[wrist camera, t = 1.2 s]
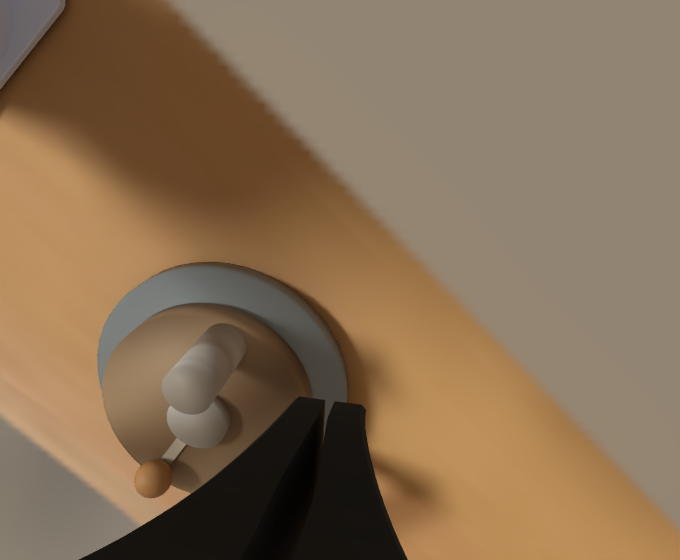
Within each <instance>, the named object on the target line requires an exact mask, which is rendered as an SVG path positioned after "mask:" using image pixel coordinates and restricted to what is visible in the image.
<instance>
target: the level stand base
mask: <svg viewBox="0 0 680 560" xmlns="http://www.w3.org/2000/svg"><path fill="white" fill-rule="evenodd" d="M187 303H212V304H219V305H223V306H228V307H231V308H234V309H237V310H240V311H243V312H245V313H247V314H249V315H251V316H253V317H255V318H257V319H258V320H260V321H262V322H263V323H265V324H266V325H268V326H269V327H270V328H272V329H273V330H274V331H275V332H277V333H278V334H279V335H280V336H281V337H282V338H283V339H284V340H285V341H286V342H287V343H288V344H289V345H290V347H291V348H292V349H293V351H294V352H295V353H296V354H297V356H298V358H299V359H300V361H301V363H302V364H303V366H304V368H305V371H306V373H307V375H308V378H309V381H310V385H311V388H312V395H313V398H315V399H322V400H325V416H324V435H325V429H326V423H327V418H328V415H329V413H330V410H331V408H332V406H333V404H334V401H337V402H344V403H347V402H348V378H347V371H346V367H345V363H344V359H343V356H342V353H341V351H340V348H339V346H338V343H337V341H336V340H335V338H334V336H333V334H332V332H331V331H330V329H329V327H328V326H327V325H326V323H325V322H324V321H323V319H322V318H321V317H320V315H319V314H318V313H317V312H316V311H315V310H314V309H313V308H312V307H311V306H310V305H309V304H308V303H307V302H306V301H305V300H304V299H303V298H302V297H300V296H299V295H298V294H297V293H296V292H294V291H293V290H291V289H290V288H288V287H287V286H285V285H284V284H282V283H281V282H279V281H277V280H275V279H273V278H271V277H269V276H267V275H265V274H263V273H260V272H258V271H255V270H252V269H249V268H246V267H242V266H237V265H233V264H228V263H217V262H198V263H190V264H184V265H179V266H176V267H173V268H170V269H167V270H164V271H162V272H160V273H158V274H156V275H154V276H152V277H150V278H149V279H147V280H146V281H144V282H143V283H141V284H140V285H139V286H137V287H136V288H134V289H133V290H132V291H130V292H129V293H128V294H127V295H126V296H125V297H124V298H123V299H122V300H121V301H120V302H119V303H118V304H117V305H116V306H115V308H114V309H113V311H112V312H111V314H110V315H109V317H108V319H107V321H106V323H105V325H104V327H103V330H102V334H101V337H100V340H99V347H98V355H97V358H98V374H99V380H100V385H101V388H102V383H103V376H104V371H105V368H106V364H107V362H108V360H109V358H110V356H111V354H112V352H113V351H114V349H115V348H116V347H117V345H118V344H119V343H120V342H121V341H122V340H123V339H124V338H125V337H126V336H127V335H128V334H129V333H131V332H132V331H133V330H134V329H136V328H137V327H138V326H139V325H140V324H142V323H143V322H144V321H145V320H147V319H148V318H150V317H151V316H152V315H154V314H156V313H158V312H160V311H162V310H164V309H166V308H169V307H172V306H176V305H180V304H187ZM323 441H324V436H323Z"/></svg>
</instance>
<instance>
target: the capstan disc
mask: <svg viewBox="0 0 680 560" xmlns="http://www.w3.org/2000/svg"><path fill="white" fill-rule="evenodd" d="M102 396H103V402H104V408H105V411H106V415H107V418H108V420H109V423H110V425H111V427H112V430H113V431H114V433H115V435H116V436H117V438H118V440H119V441H120V443H121V444H122V445H123V447H124V448H125V449H126V451H127V452H128V453H129V454H130V455H131V456H132V457H133V458H134V459H135V460H136V461H137V462H138V463H139V464H140V465H141V466H140V468H139V469H138V470H137V472H136V474H135V478H134V484H135V488H136V490H137V492H138V493H139V494H140V495H142V496H143V497H146V498H156V497H159V496H161V495H162V494H164V493H165V492H166V491H167V490H168V489H169V487H170V485H172V486H174V487H176V488H178V489H181V490H184V491H186V492H189V493H193V492H194V491H195V490H197V489H198V488H199V487H201V486H202V485H203V484H205V483H206V482H207V481H209V480H210V479H211V478H212V477H214V476H215V475H216V474H217V473H219V472H220V471H221V470H222V469H223V468H224V467H226V466H227V465H228V464H229V463H230V462H232V461H233V460H234V459H235V458H236V457H237V456H239V455H240V454H241V453H242V452H243V451H244V450H245V449H246V448H247V447H249V446H250V445H251V444H252V443H253V442H254V441H255V440H256V439H257V438H258V437H259V436H260V435H261V434H262V433H263V432H264V431H265V430H266V429H267V428H268V427H269V426H270V425H271V424H272V423H273V422H274V421H275V420H276V419H277V418H278V417H279V416H280V415H281V414H282V413H283V412H284V411H285V410H286V408H287V407H288V406H289V405H290V404H291V403H292V402H293V401H294V400H295V399H296V398H298V397H299V396H300V397H308V398H313V395H312V388H311V385H310V381H309V378H308V375H307V373H306V371H305V368H304V366H303V364H302V363H301V361H300V359H299V358H298V356H297V354H296V353H295V352H294V351H293V349H292V348H291V347H290V345H289V344H288V343H287V342H286V341H285V340H284V339H283V338H282V337H281V336H280V335H279V334H278V333H277V332H275V331H274V330H273V329H272V328H270V327H269V326H268V325H266V324H265V323H263V322H262V321H260V320H258V319H257V318H255V317H253V316H251V315H249V314H247V313H245V312H243V311H240V310H237V309H234V308H231V307H228V306H223V305H219V304H212V303H187V304H180V305H176V306H172V307H169V308H166V309H164V310H162V311H160V312H158V313H156V314H154V315H152V316H151V317H150V318H148V319H147V320H145V321H144V322H143V323H142V324H140V325H139V326H138V327H137V328H136V329H134V330H133V331H132V332H131V333H129V334H128V335H127V336H126V337H125V338H124V339H123V340H122V341H121V342H120V343H119V344H118V345H117V347H116V348H115V349H114V351H113V352H112V354H111V356H110V358H109V360H108V362H107V364H106V368H105V371H104V376H103V383H102Z"/></svg>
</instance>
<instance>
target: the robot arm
mask: <svg viewBox="0 0 680 560" xmlns="http://www.w3.org/2000/svg"><path fill="white" fill-rule="evenodd" d="M64 8H65V0H0V89H1V88H2V87H3V86H4V84H5V83H6V82H7V80H8V79H9V78H10V77H11V75H12V74H13V73H14V72H15V70H16V69H17V68H18V67H19V65H20V64H21V63H22V62H23V60H24V59H25V58H26V57H27V55H28V54H29V53H30V52H31V50H32V49H33V48H34V47H35V45H36V44H37V43H38V42H39V40H40V39H41V38H42V37H43V35H44V34H45V33H46V32H47V30H48V29H49V28H50V26H51V25H52V24H53V23H54V21H55V20H56V19H57V18H58V16H59V15H60V14H61V13H62V11H63V10H64ZM365 414H366V410H365V408H364V407H363V406H362V405H359V404H352V403H344V402H337V401H334V404H333V406H332V408H331V410H330V413H329V415H328V418H327V423H326V429H325V435H324V416H325V400H322V399H315V398H308V397H300V396H299V397H298V398H296V399H295V400H294V401H293V402H292V403H291V404H290V405H289V406H288V407H287V408H286V410H285V411H284V412H283V413H282V414H281V415H280V416H279V417H278V418H277V419H276V420H275V421H274V422H273V423H272V424H271V425H270V426H269V427H268V428H267V429H266V430H265V431H264V432H263V433H262V434H261V435H260V436H259V437H258V438H257V439H256V440H255V441H254V442H253V443H252V444H251V445H250V446H249V447H247V448H246V449H245V450H244V451H243V452H242V453H241V454H240V455H239V456H237V457H236V458H235V459H234V460H233V461H232V462H230V463H229V464H228V465H227V466H226V467H224V468H223V469H222V470H221V471H220V472H219V473H217V474H216V475H215V476H214V477H212V478H211V479H210V480H209V481H207V482H206V483H205V484H203V485H202V486H201V487H199V488H198V489H197V490H195V491H194V492H193V493H191V494H190V495H189V496H187V497H186V498H184V499H183V500H181V501H180V502H179V503H177V504H176V505H174V506H173V507H171V508H170V509H168V510H167V511H165V512H163V513H162V514H160V515H159V516H157V517H155V518H154V519H152V520H151V521H149V522H147V523H146V524H144V525H142V526H141V527H139V528H137V529H136V530H134V531H132V532H131V533H129V534H127V535H126V536H124V537H122V538H120V539H118V540H116V541H115V542H113V543H111V544H109V545H107V546H105V547H103V548H101V549H99V550H97V551H95V552H93V553H92V554H89V555H88V556H85V557H83V558H81V559H79V560H408V559H407V557H406V555H405V553H404V551H403V549H402V547H401V545H400V542H399V540H398V538H397V535H396V533H395V531H394V528H393V526H392V523H391V521H390V518H389V516H388V513H387V510H386V508H385V505H384V502H383V499H382V496H381V493H380V490H379V487H378V484H377V480H376V477H375V473H374V469H373V465H372V461H371V458H370V453H369V449H368V443H367V437H366V429H365ZM323 436H324V441H323Z"/></svg>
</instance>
